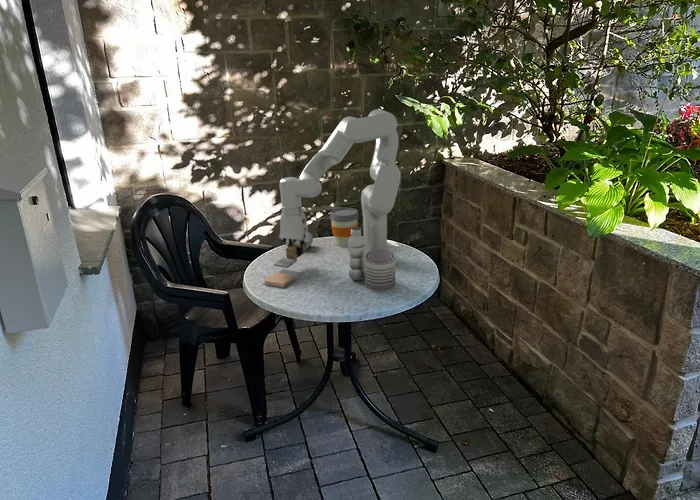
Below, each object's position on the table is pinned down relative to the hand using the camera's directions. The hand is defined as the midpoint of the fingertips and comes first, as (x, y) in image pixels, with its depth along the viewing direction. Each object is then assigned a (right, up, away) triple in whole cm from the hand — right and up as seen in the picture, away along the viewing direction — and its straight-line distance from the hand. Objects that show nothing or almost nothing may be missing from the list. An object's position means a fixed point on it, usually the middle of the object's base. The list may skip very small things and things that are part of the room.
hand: (295, 254), depth 194 cm
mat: (-4, -10, -6) cm, 12 cm away
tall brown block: (-1, -2, -2) cm, 3 cm away
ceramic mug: (-1, +2, +25) cm, 25 cm away
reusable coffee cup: (+19, +5, +29) cm, 35 cm away
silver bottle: (+24, -9, -7) cm, 27 cm away
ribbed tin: (+33, -11, -12) cm, 37 cm away
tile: (-4, -8, -5) cm, 10 cm away
